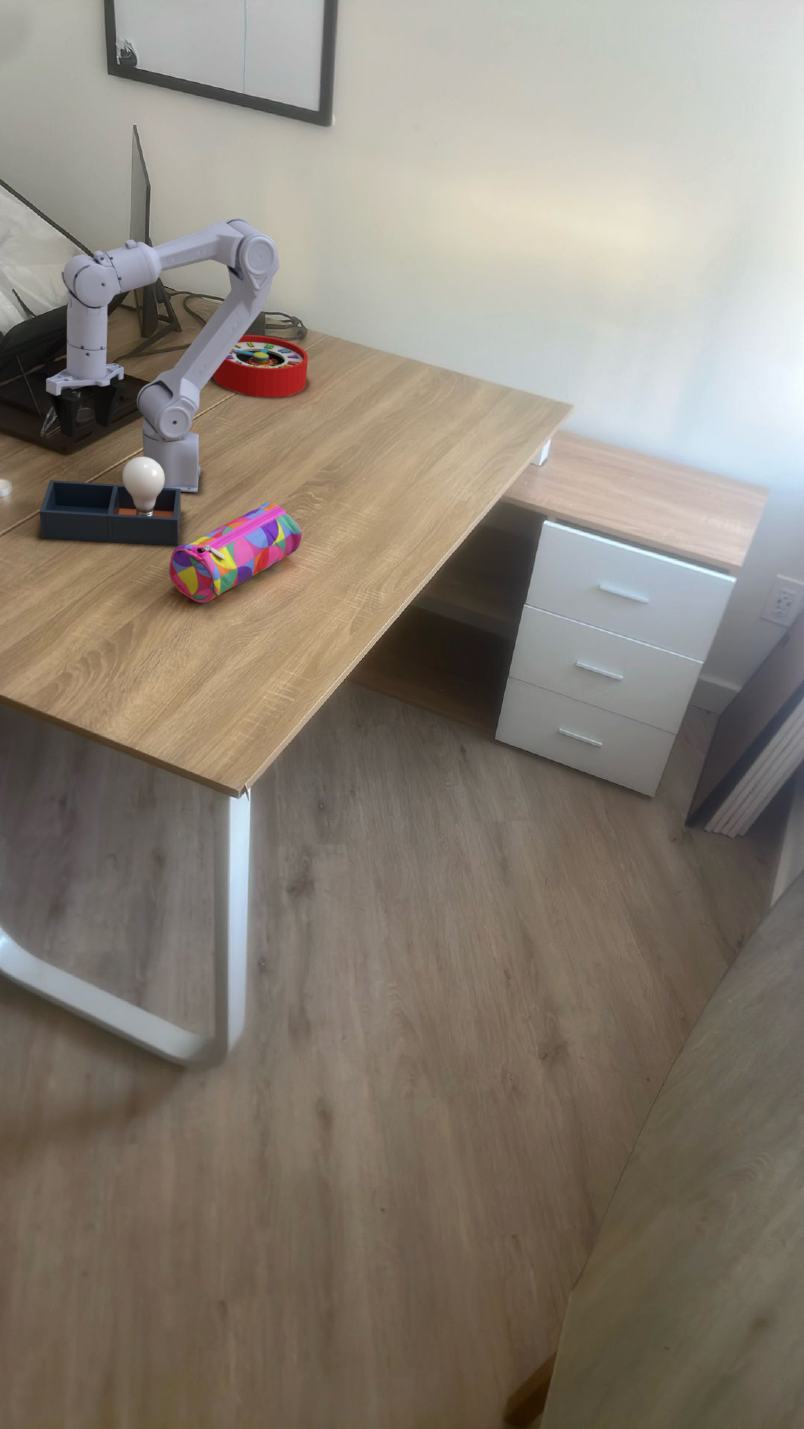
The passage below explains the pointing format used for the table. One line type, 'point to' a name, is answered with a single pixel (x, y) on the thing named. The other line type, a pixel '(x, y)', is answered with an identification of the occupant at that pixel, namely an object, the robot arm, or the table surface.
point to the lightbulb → (143, 483)
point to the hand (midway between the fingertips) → (85, 430)
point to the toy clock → (263, 367)
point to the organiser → (107, 514)
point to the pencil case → (234, 552)
